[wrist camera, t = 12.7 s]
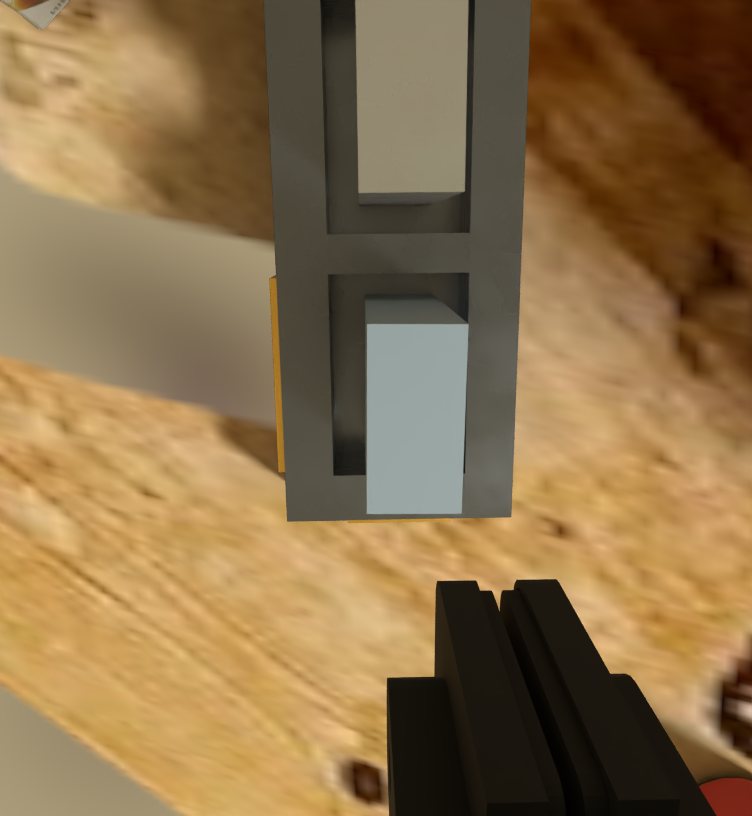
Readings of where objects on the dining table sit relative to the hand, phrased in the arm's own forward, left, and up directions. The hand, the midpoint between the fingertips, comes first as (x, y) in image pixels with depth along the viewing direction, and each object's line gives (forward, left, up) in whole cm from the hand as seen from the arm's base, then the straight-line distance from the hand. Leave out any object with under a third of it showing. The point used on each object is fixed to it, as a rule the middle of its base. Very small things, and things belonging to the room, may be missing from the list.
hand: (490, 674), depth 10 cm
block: (0, 0, -22) cm, 22 cm away
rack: (0, -5, -23) cm, 24 cm away
